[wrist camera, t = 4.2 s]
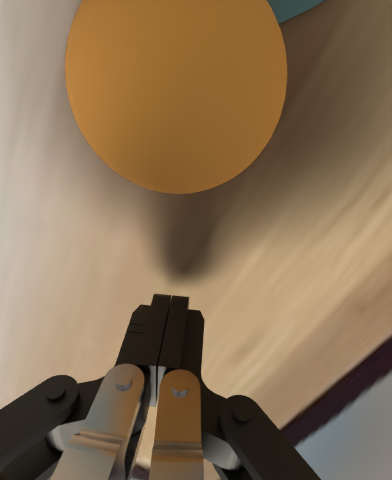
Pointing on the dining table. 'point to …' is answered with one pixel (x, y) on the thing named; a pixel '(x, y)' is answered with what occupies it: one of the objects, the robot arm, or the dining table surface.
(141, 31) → the ball
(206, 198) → the dining table surface
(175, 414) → the robot arm
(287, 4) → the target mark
